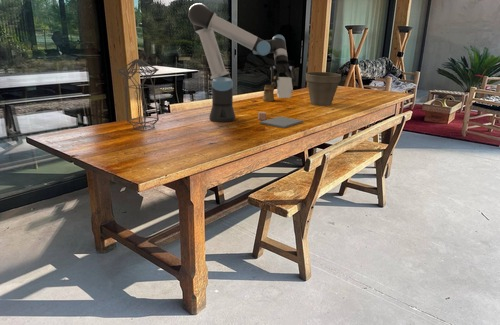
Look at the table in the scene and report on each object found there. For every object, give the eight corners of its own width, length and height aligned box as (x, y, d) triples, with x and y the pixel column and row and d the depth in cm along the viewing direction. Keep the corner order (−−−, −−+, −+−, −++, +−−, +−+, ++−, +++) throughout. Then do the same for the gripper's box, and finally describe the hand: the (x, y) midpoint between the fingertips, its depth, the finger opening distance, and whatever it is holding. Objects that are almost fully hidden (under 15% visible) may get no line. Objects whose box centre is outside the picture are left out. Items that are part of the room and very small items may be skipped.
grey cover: (290, 97, 215) (291, 78, 211) (278, 97, 214) (279, 78, 211) (288, 95, 221) (289, 77, 218) (276, 95, 220) (277, 77, 217)
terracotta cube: (265, 120, 229) (266, 113, 227) (259, 120, 228) (259, 113, 227) (264, 118, 233) (265, 111, 231) (258, 118, 232) (258, 111, 231)
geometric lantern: (143, 133, 192) (136, 60, 181) (121, 130, 200) (113, 59, 189) (165, 127, 205) (160, 58, 194) (144, 124, 213) (137, 57, 202)
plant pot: (341, 107, 271) (344, 76, 264) (306, 106, 271) (308, 75, 265) (334, 101, 295) (337, 72, 288) (302, 100, 295) (304, 71, 288)
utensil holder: (280, 99, 297) (281, 75, 291) (269, 101, 287) (270, 77, 281) (271, 98, 302) (272, 74, 297) (260, 100, 293) (260, 75, 287)
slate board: (283, 128, 210) (283, 126, 210) (259, 123, 219) (259, 121, 219) (302, 122, 225) (303, 120, 225) (280, 118, 234) (280, 116, 234)
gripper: (296, 63, 228) (301, 95, 217) (263, 63, 225) (266, 95, 215) (299, 54, 221) (304, 87, 211) (264, 54, 219) (268, 87, 209)
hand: (285, 91), depth 213 cm, fingers closed on grey cover, 7 cm apart
